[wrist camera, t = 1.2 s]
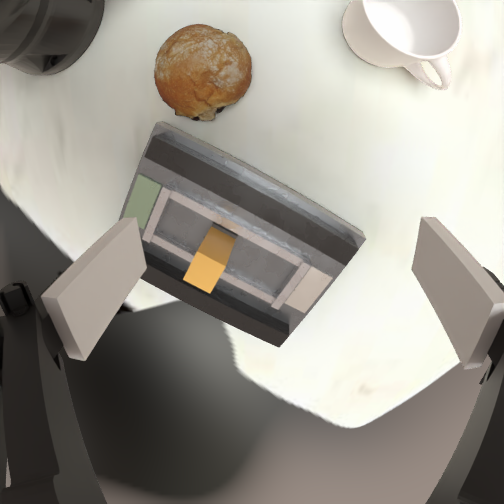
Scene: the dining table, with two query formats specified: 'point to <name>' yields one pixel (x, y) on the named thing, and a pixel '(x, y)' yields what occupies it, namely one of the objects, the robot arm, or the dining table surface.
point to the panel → (242, 223)
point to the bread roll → (202, 71)
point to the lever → (211, 258)
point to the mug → (405, 34)
